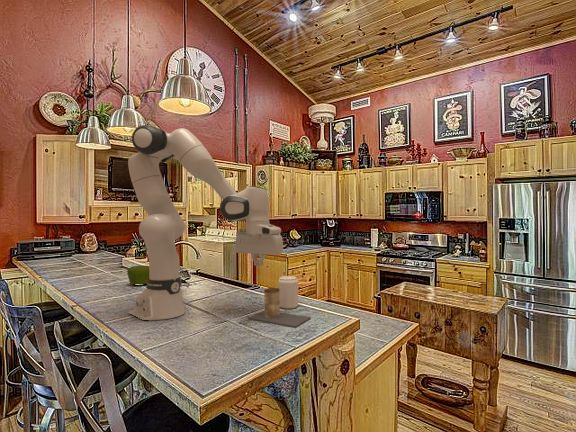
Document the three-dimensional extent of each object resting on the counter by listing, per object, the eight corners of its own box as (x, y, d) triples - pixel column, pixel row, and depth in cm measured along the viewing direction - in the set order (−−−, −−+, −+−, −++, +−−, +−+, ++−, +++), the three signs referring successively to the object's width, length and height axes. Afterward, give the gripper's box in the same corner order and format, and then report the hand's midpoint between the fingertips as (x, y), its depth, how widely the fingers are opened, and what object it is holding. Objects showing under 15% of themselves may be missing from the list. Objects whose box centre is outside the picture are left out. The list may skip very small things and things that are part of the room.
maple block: (264, 316, 124) (264, 289, 124) (270, 314, 127) (270, 287, 127) (273, 318, 122) (273, 290, 122) (279, 315, 125) (279, 288, 125)
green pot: (123, 287, 183) (122, 266, 183) (136, 282, 195) (136, 262, 195) (144, 287, 181) (143, 266, 181) (156, 282, 193) (156, 263, 193)
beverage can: (302, 306, 139) (301, 277, 139) (289, 310, 133) (288, 280, 133) (288, 303, 145) (287, 275, 145) (274, 307, 139) (274, 277, 139)
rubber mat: (248, 319, 123) (248, 317, 123) (265, 311, 133) (265, 309, 133) (295, 328, 113) (295, 326, 113) (310, 318, 122) (310, 317, 122)
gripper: (231, 229, 130) (231, 265, 130) (275, 229, 119) (276, 268, 119) (241, 228, 135) (242, 263, 135) (285, 228, 125) (285, 266, 125)
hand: (258, 265), depth 127 cm, fingers closed
